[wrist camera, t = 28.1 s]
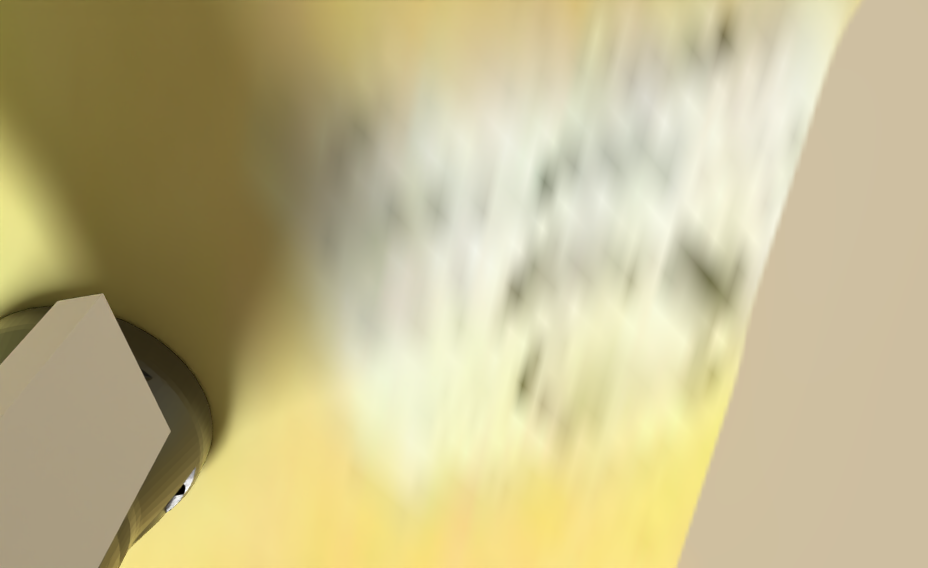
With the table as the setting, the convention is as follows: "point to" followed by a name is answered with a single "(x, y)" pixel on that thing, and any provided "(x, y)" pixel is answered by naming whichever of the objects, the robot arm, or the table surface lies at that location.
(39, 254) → the table surface
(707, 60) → the table surface
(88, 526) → the robot arm
